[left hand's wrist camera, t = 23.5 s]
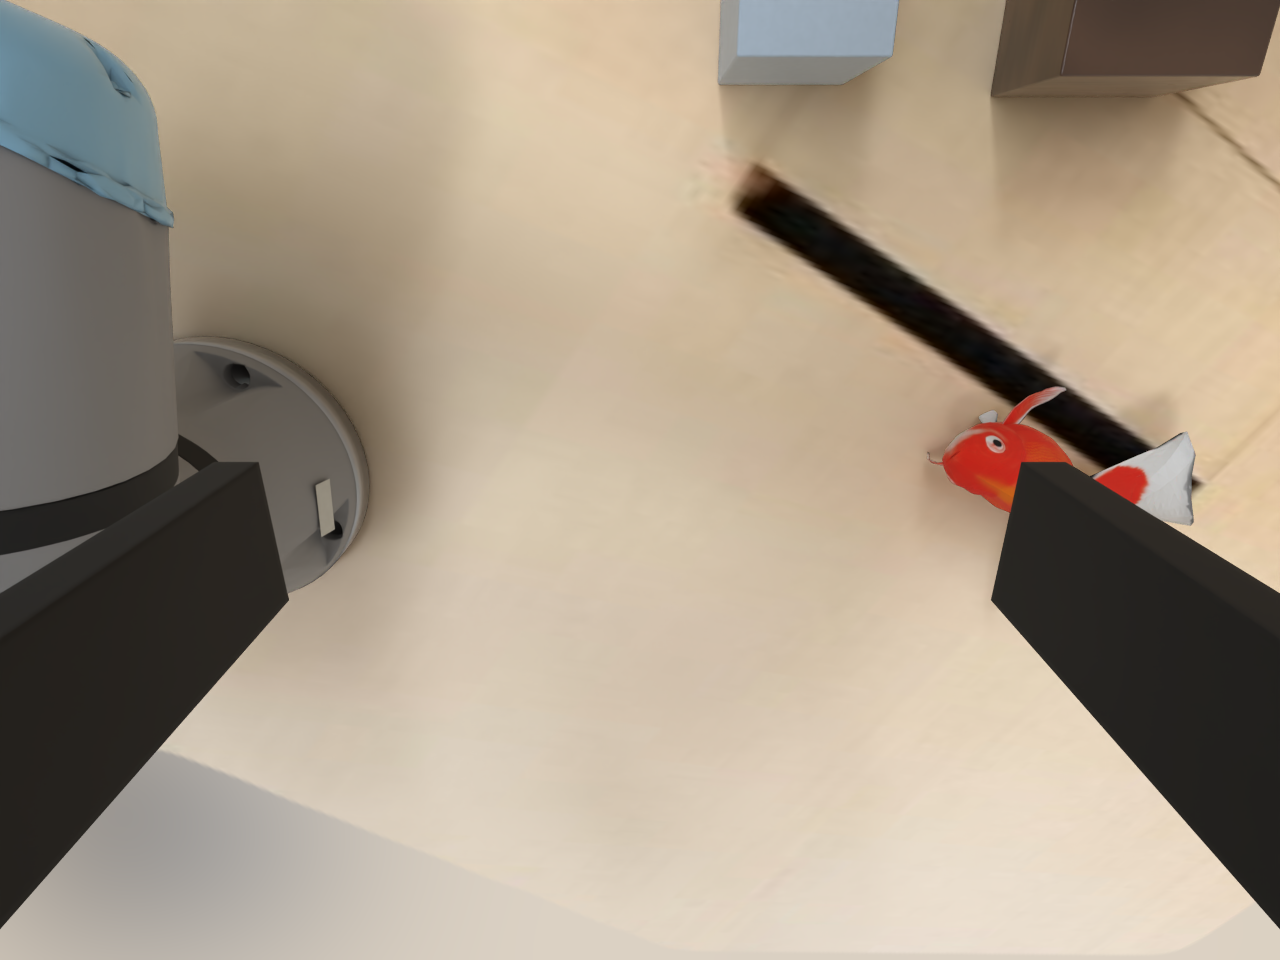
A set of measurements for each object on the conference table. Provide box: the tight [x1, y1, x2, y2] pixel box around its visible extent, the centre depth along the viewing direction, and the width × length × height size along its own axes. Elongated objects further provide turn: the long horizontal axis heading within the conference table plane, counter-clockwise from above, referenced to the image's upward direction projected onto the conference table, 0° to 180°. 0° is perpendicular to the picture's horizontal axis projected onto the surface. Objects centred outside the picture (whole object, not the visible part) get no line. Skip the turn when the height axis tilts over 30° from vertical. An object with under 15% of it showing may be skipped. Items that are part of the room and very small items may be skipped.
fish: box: [927, 386, 1195, 526], centre depth 36 cm, size 11×16×10 cm
